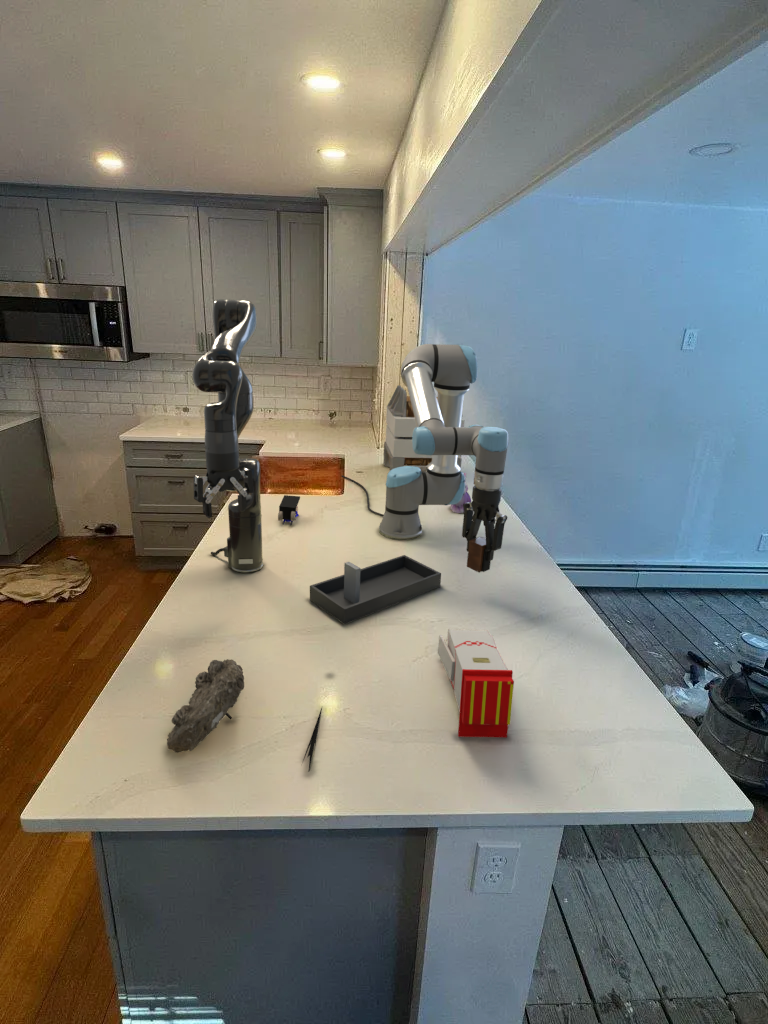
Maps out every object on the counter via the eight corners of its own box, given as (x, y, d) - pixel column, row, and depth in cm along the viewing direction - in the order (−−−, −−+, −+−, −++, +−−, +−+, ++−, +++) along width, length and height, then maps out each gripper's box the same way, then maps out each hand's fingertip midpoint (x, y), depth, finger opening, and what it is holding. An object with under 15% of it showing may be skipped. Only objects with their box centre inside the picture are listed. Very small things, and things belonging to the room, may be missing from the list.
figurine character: (296, 530, 202) (301, 512, 215) (295, 511, 198) (300, 494, 212) (277, 530, 201) (283, 511, 215) (276, 511, 198) (282, 493, 211)
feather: (331, 679, 122) (336, 673, 122) (307, 777, 96) (313, 769, 95) (324, 675, 122) (329, 669, 121) (298, 772, 95) (304, 764, 95)
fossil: (192, 660, 117) (244, 628, 112) (224, 691, 120) (276, 661, 115) (142, 746, 98) (202, 712, 93) (182, 779, 101) (242, 748, 96)
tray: (309, 599, 153) (309, 562, 149) (403, 567, 174) (405, 534, 170) (344, 624, 142) (345, 585, 138) (440, 586, 163) (443, 551, 159)
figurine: (457, 515, 220) (461, 478, 215) (443, 507, 229) (446, 471, 224) (477, 512, 224) (481, 475, 219) (462, 504, 233) (466, 469, 228)
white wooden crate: (382, 463, 289) (386, 382, 275) (445, 464, 293) (451, 384, 279) (390, 482, 257) (394, 392, 243) (460, 483, 261) (468, 394, 247)
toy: (488, 613, 130) (523, 677, 101) (484, 667, 133) (517, 744, 104) (435, 612, 130) (455, 676, 101) (432, 666, 133) (451, 743, 103)
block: (466, 566, 157) (469, 540, 155) (477, 562, 160) (480, 536, 157) (479, 572, 154) (482, 546, 151) (489, 568, 157) (492, 542, 154)
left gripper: (199, 455, 125) (204, 524, 131) (257, 448, 134) (259, 512, 140) (185, 448, 130) (190, 514, 136) (242, 441, 139) (244, 504, 145)
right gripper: (453, 480, 153) (445, 558, 161) (505, 499, 140) (494, 582, 149) (471, 476, 157) (463, 552, 166) (523, 493, 145) (512, 575, 153)
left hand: (225, 513), depth 138 cm, fingers open, 8 cm apart
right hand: (478, 566), depth 157 cm, fingers closed on block, 4 cm apart
